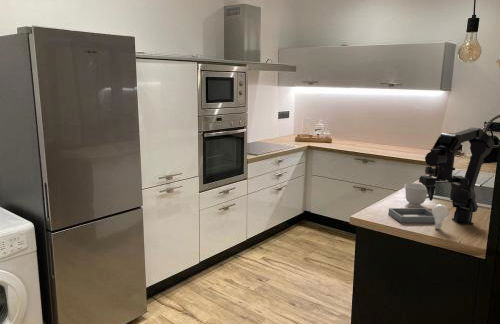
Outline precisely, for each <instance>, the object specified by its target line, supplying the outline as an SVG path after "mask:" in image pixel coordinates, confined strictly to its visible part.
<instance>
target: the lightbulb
mask: <svg viewBox="0 0 500 324" xmlns="http://www.w3.org/2000/svg"><path fill="white" fill-rule="evenodd" d="M431 212H432V214H433V216H434V219H435V223H434V229H436V230H441V229H442V226H443V222H444V221H445V220H446V218H447V217H449V212H450V211H449V209H448V207H447V206H446V205H444V204H442V203H441V204H440V203H438V204H435V205H434V206H433V207H432V208H431Z"/></svg>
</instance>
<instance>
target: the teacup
mask: <svg viewBox="0 0 500 324" xmlns="http://www.w3.org/2000/svg"><path fill="white" fill-rule="evenodd" d="M403 186H404V188H405V199H406V201H407V202H408V205H409V206H411V207H413V208H421V205H422V204H424V202H425V201H426V200H427V199H429V195H428V192H427V189H426V187H425V185H423V184H422V183H414V182H413V183H412V182H409V183H405V184H404V185H403ZM434 195H436V190H435V191H434Z"/></svg>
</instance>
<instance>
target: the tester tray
mask: <svg viewBox="0 0 500 324" xmlns="http://www.w3.org/2000/svg"><path fill="white" fill-rule="evenodd" d="M387 215H389V217H391V218H392V219H394V220H395V221H396V222H398V223H400V224H403V225H404V224H435V219H434V216H433V214H432V210H429V209H427V208H425V207H393V208H392V207H390V208H388V214H387Z"/></svg>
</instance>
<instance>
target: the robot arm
mask: <svg viewBox="0 0 500 324" xmlns="http://www.w3.org/2000/svg"><path fill="white" fill-rule="evenodd" d="M464 142H465V143H466V142H469V150H470V152H471V156H470V159H469V163H468V165H467V169H466V171H465V174H464V176H463V175H453V171H456V167H454V165H455V157H456V154H458V153H459V151H458V150H457V149H458V148H459V147H461V146H462V143H464ZM494 147H495V141H494V139H493V138H492V136H491V135H489V134H488V133H487V132H485V130H483V129H482V128H479V127H469V128H467V129H464V130H461V131H458V132H441V133H440V134H439V136H438V137H437V139H436V141H435V143H434V145H433V147H432V148H431V149H430V152H427V154H425V156H424V160H425V161H424V162H425V163H426V164H427V166H426V167H425V170H424V173H425V175H420V176H419V179H418V182H419V184H422V185H425V187H426V189H427V196H428V195H429V197H428V199H429V201H431V202H432V200H433V198H434V196H435V194H434V191H435V192H436V183H437V184H439V183H443V184H444V183H447V184H449V183H450V188H451V190H450V196H449V200H450V201H452V203H451V204H452V207H453V208H455V211H454V215H453V218H451V220H452V221H454V222H455V223H457V224H459V225H474V222H473V221H472V220H473V215H474V213H477V212H478V211H477V210H478V208H479V206H478V204H477V202H476V192H475V186H476V183H477V181H478V177H479V175H480V171H481V169H482V167H483V166H482V165H483V162H484V159H485V158H486V157H487V156H489V155H490V154H491V152H492V150H493V148H494ZM433 167H434V168H433Z"/></svg>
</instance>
